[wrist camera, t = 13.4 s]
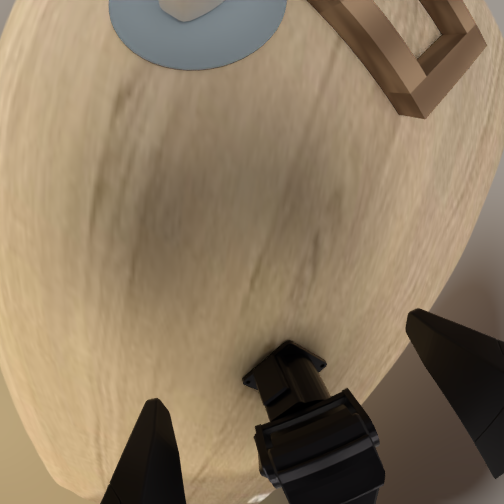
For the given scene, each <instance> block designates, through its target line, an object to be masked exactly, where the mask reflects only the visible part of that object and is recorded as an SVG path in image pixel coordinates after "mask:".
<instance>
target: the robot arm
mask: <svg viewBox="0 0 504 504" xmlns="http://www.w3.org/2000/svg"><path fill="white" fill-rule="evenodd" d="M406 333H407V335H408V337H409V339H410V340H411V342H412V344H413V345H414V348H415V349H416V351H417V353H418V355H419V357H420V358H421V360H422V362H423V364H424V366H425V367H426V369H427V370H428V372H429V373H430V374H431V376H432V377H433V379H434V380H435V382H436V383H437V385H438V386H439V388H440V389H441V391H442V392H443V394H444V395H445V397H446V398H447V400H448V401H449V403H450V405H451V406H452V408H453V409H454V411H455V412H456V414H457V415H458V417H459V419H460V420H461V422H462V423H463V425H464V427H465V428H466V430H467V431H468V433H469V435H470V436H471V438H472V440H473V441H474V443H475V445H476V446H477V449H478V450H479V452H480V454H481V455H482V457H483V459H484V461H485V462H486V464H487V466H488V468H489V470H490V471H491V473H492V475H493V477H494V478H495V479H496V478H498V477H499V476H501V475H502V474H503V473H504V342H503V341H501V340H498V339H496V338H493V337H491V336H488V335H486V334H483V333H481V332H478V331H475V330H473V329H471V328H468V327H465V326H463V325H460V324H458V323H455V322H453V321H450V320H448V319H445V318H443V317H440V316H437V315H435V314H433V313H430V312H427V311H425V310H422V309H419V308H417V309H414V310H412V311H410V312H409V313H408V317H407V322H406ZM326 365H327V363H326V362H325V360H323V359H321V358H320V357H318V356H316V355H315V354H313V353H311V352H309V351H308V350H306V349H304V348H302V347H301V346H299V345H297V344H296V343H294V342H292V341H286V342H285V343H284V344H282V345H281V346H280V347H279V348H278V349H277V350H276V351H274V352H273V353H272V354H271V355H270V356H269V357H268V358H266V359H265V360H264V361H263V362H262V363H261V364H259V365H258V366H257V367H256V368H255V369H253V370H252V371H251V372H250V373H249V374H247V375H246V376H245V377H244V378H243V379H242V381H243V384H244V385H246V386H248V387H251V388H253V389H256V390H258V391H259V394H260V397H261V400H262V403H263V405H264V406H265V408H266V411H267V414H268V417H269V420H270V422H268V423H266V424H263V425H261V424H260V425H257V426H255V429H256V434H255V436H254V439H255V443H256V446H257V450H258V458H259V471H260V474H261V475H262V476H264V477H266V478H268V479H269V481H270V482H271V483H272V484H273V486H274V487H275V488H276V489H277V488H280V487H282V489H283V491H284V493H285V495H286V497H287V499H288V502H289V504H376V499H377V495H378V491H379V487H381V486H383V485H384V480H385V470H384V469H383V465H382V463H381V460H380V458H379V456H378V453H377V451H376V448H375V447H377V446H379V444H380V443H379V438H378V434H377V432H376V429H375V427H374V425H373V424H372V421H371V419H370V418H369V416H368V415H367V413H366V412H365V411H364V409H363V408H362V407H361V405H360V404H359V403H358V401H357V400H356V399H355V397H354V396H353V395H352V393H351V392H350V391H349V389H348V388H346V389H344V390H342V392H340V393H338V394H336V395H334V396H332V397H331V396H330V394H329V392H328V390H327V388H326V386H325V384H324V382H323V381H322V379H321V377H320V375H319V372H320V371H321V370H322V369H324V368H325V367H326ZM100 504H186V499H185V493H184V486H183V479H182V472H181V464H180V457H179V451H178V447H177V443H176V439H175V434H174V430H173V426H172V421H171V417H170V413H169V411H168V409H167V408H166V407H165V406H164V404H163V403H162V402H161V400H160V399H158V398H154V399H149V400H147V401H146V402H145V404H144V407H143V409H142V411H141V413H140V415H139V417H138V420H137V422H136V424H135V426H134V428H133V431H132V433H131V435H130V437H129V440H128V442H127V444H126V446H125V449H124V451H123V453H122V455H121V458H120V460H119V462H118V464H117V467H116V469H115V471H114V474H113V476H112V478H111V481H110V484H109V485H108V487H107V490H106V492H105V494H104V497H103V499H102V501H101V503H100Z"/></svg>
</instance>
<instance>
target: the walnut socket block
mask: <svg viewBox="0 0 504 504" xmlns="http://www.w3.org/2000/svg"><path fill="white" fill-rule="evenodd" d="M307 1H308V2H309V3H310V4H311V5H312V6H313V7H314V8H315V9H316V10H317V11H318V12H319V13H320V14H321V15H322V16H323V17H324V18H325V19H326V20H327V21H328V22H329V24H330V25H331V26H332V27H333V28H334V29H335V30H336V31H337V32H338V34H339V35H340V36H341V37H342V38H343V39H344V41H345V42H346V43H347V44H348V45H349V46H350V48H351V49H352V50H353V51H354V53H355V54H356V55H357V56H358V58H359V59H360V60H361V61H362V63H363V64H364V65H365V67H366V68H367V69H368V70H369V72H370V73H371V74H372V76H373V77H374V79H375V80H376V81H377V83H378V84H379V85H380V87H381V88H382V90H383V91H384V93H385V94H386V95H387V97H388V98H389V100H390V101H391V103H392V104H393V106H394V107H395V109H396V110H397V112H398V114H399V115H404V116H410V117H416V118H422V119H426V118H427V117H428V116H429V114H430V113H431V112H432V111H433V110H434V109H435V107H436V106H437V105H438V104H439V103H440V102H441V101H442V99H443V98H444V97H445V96H446V95H447V93H448V92H449V91H450V90H451V89H452V88H453V86H454V85H455V84H456V83H457V82H458V80H459V79H460V78H461V77H462V76H463V74H464V73H465V72H466V71H467V70H468V68H469V67H470V66H471V65H472V64H473V62H474V61H475V60H476V59H477V57H478V56H479V55H480V54H481V52H482V51H483V50H484V49H485V47H486V46H487V44H486V42H485V40H484V38H483V36H482V34H481V32H480V30H479V28H478V27H477V25H476V23H475V21H474V19H473V17H472V16H471V14H470V12H469V10H468V9H467V7H466V5H465V4H464V2H463V0H420V2H421V3H422V4H423V6H424V7H425V9H426V10H427V12H428V13H429V15H430V16H431V18H432V19H433V21H434V22H435V24H436V25H437V27H438V29H439V30H440V32H441V33H442V36H441V37H440V38H439V39H437V40H436V41H435V42H434V43H433V44H432V45H431V46H430V47H429V48H428V49H427V50H426V51H425V52H424V53H423V54H422V55H421V56H420V57H419V58H418V59H417V60H416V58H415V57H414V55H413V54H412V52H411V51H410V49H409V48H408V46H407V45H406V43H405V42H404V40H403V39H402V38H401V36H400V35H399V33H398V32H397V31H396V29H395V28H394V26H393V25H392V24H391V22H390V21H389V20H388V19H387V17H386V16H385V15H384V13H383V12H382V11H381V10H380V8H379V7H378V6H377V5H376V4H375V2H374V1H373V0H307Z"/></svg>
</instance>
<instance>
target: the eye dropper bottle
mask: <svg viewBox="0 0 504 504" xmlns="http://www.w3.org/2000/svg"><path fill="white" fill-rule="evenodd" d="M158 1H159V6H160V7H161V9H162V10H163V11H165V12H166V13H168V14H170V15H171V16H173V17H174V18H176V19H178V20H180V21H183V22H186V21H191V20H193V19H196V18H198V17H200V16H202V15H204V14H206V13H208V12H209V11H211V10H213V9H214V8H216V7H217V6H218V5H220V4H221V3H222V2H223V1H225V0H158Z"/></svg>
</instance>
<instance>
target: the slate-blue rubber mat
mask: <svg viewBox="0 0 504 504" xmlns="http://www.w3.org/2000/svg"><path fill="white" fill-rule="evenodd" d="M286 3H287V0H225V1H223V2H222V3H221V4H220V5H218V6H217V7H216V8H214V9H213V10H211V11H209V12H208V13H206V14H204V15H202V16H200V17H198V18H196V19H193V20H191V21H186V22H183V21H180V20H178V19H176V18H174V17H173V16H171V15H170V14H168V13H166V12H165V11H163V10H162V9H161V7H160V6H159V1H158V0H109V14H110V19H111V22H112V25H113V27H114V30H115V31H116V33H117V35H118V36H119V38H120V39H121V40H122V41H123V42H124V44H125V45H126V46H127V47H128V48H129V49H131V50H132V51H133V52H134V53H135V54H137V55H139V56H140V57H142V58H143V59H145V60H147V61H150V62H152V63H154V64H157V65H160V66H163V67H168V68H172V69H180V70H204V69H212V68H216V67H221V66H225V65H228V64H231V63H234V62H236V61H238V60H240V59H243V58H244V57H246V56H248V55H250V54H251V53H253V52H254V51H256V50H257V49H258V48H260V47H261V46H262V45H264V44H265V43H266V42H267V41H268V40H269V39H270V38H271V36H272V35H273V34H274V33H275V31H276V30H277V28H278V27H279V25H280V23H281V21H282V19H283V16H284V13H285V9H286Z"/></svg>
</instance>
